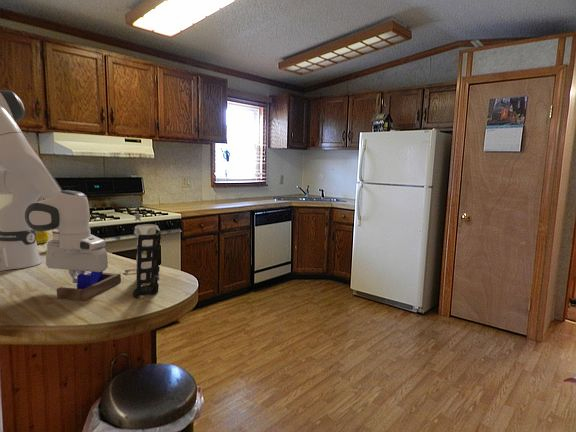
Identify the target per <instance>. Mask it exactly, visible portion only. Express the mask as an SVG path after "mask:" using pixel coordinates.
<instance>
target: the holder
mask: <svg viewBox="0 0 576 432" xmlns="http://www.w3.org/2000/svg"><path fill="white" fill-rule="evenodd" d="M161 236H162V232H161V230H160V231H159V230H157V229H156V233H155V234H152V235H139V236H138V237H137V239H138V251H137V250H136V251H137V253H136V255H137V268H136V273H137V281H136V288H134V289H133V290H132V296H133V297H134V298H136V299H137V298H139V297H142V296H147V295H157V293H159V287H160V286H159V285H160V284H159V283H158V281H159V280H158V277H157V276H158V272H160V265H159V263H160V259H161V249H162V248H161V239H162V237H161ZM152 239H153V245H152V246H150V247H142V241H143V240H152ZM143 251H147V257H146V258H142V252H143ZM151 252H152V257H151ZM150 261H152V267H151V268H147V269H142V268H141V263H142V262H150ZM142 273H146V279H145V280H141V274H142ZM150 275H151V278H150ZM146 284H147V285H146Z"/></svg>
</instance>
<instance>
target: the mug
mask: <svg viewBox="0 0 576 432" xmlns="http://www.w3.org/2000/svg"><path fill="white" fill-rule="evenodd" d="M49 239H50V238H49V233H48V231H36V239H35V240H36V242H37V245H41V244H45V243H48V242H49Z"/></svg>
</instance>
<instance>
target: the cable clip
mask: <svg viewBox="0 0 576 432" xmlns="http://www.w3.org/2000/svg"><path fill="white" fill-rule="evenodd" d="M103 273H104V271H102V272H88V273H87V274H85V273H84V274H79V275H78V274H77V275H78V280H77V283H76V289H85V288H87V287H89V286H91V285H93V284H96V283H98V282H100V281H102V274H103Z"/></svg>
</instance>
